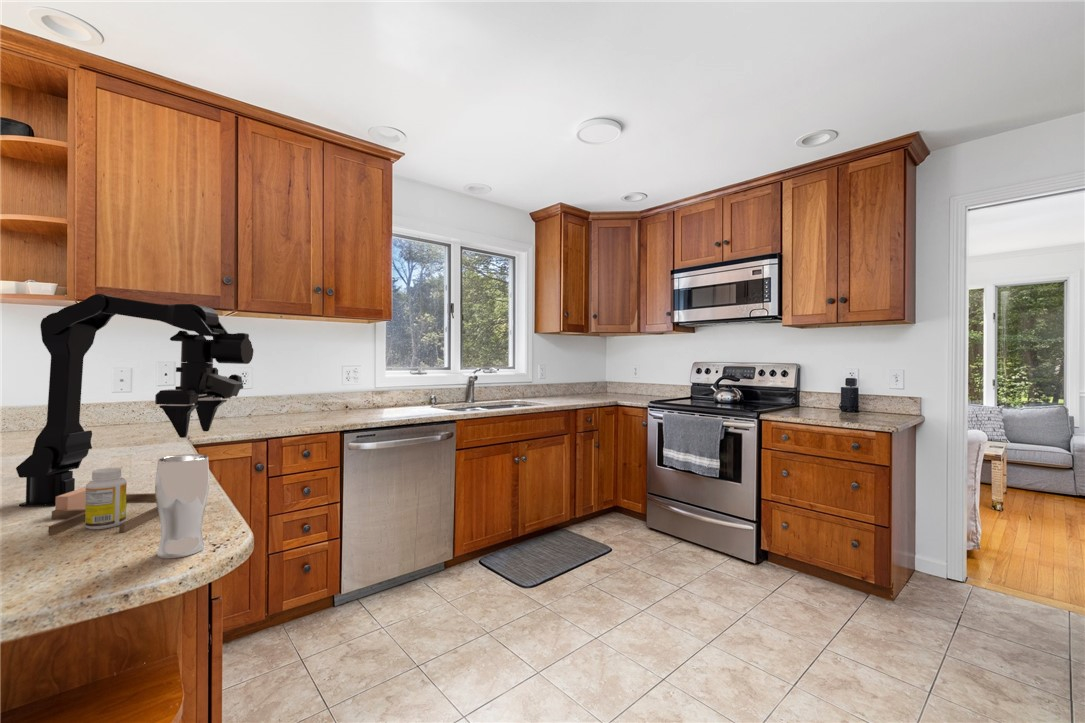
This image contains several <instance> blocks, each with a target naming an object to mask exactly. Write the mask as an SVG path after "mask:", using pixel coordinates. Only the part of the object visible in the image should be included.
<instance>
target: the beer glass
mask: <svg viewBox="0 0 1085 723" xmlns="http://www.w3.org/2000/svg"><path fill="white" fill-rule="evenodd" d="M154 483H155V485H154V493H155V497H156V501H155V503H156V507H157V510H158V519H159V525H160V539H159V544H158V548H157V552H156V554H157V555H156V556H157V557H158V558H160V559H166V560H167V559H170V560H171V559H179V558H185V557H189V556H192V555H195V554H197V553H200V552H201V551H202V550H204V549H205V543H204V542H205V541H204V538H203V530H202V529H203V528H202V527H203V526H202V525H203V519H204V515H205V514H204V513H205V511H206V510H205V509H206V505H207V501H208V495H209V490H210V466H209V455H207V454H199V453H197V454H195V453H193V454H191V453H190V454H179V455H178V454H177V455H171V456H165V457H161V458H158V459H157V467H156V474H155V482H154Z"/></svg>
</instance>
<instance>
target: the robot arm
mask: <svg viewBox="0 0 1085 723" xmlns="http://www.w3.org/2000/svg"><path fill="white" fill-rule="evenodd" d="M115 315H118V316H125V317H132V318H139V319H145V320H150V321H151V320H152V321H158V322H162V323H165V324H168V325H170V326H172V327H175V328H177V329H181V330H179V331H177V333H175V334H174V335H172V336H171V337H170V338H169V340H170V341H171V342H181V351H180V366H179V367H178V366H177V367H175V372H176V373H180V374H179V375H180V378H179V380H180V382H179V386H178V385H177V386H175V389H163V390H162V389H161V390H159V391H158V392H157V393H156V394H155V395H154V396H155V399H154V400H155V405H159V409H161V410H163V412H164V414H165V415H166V417H167V418H168V419H169V421H170V423H171V425H172V426H173V428H174V429H175V432H176V433H177V435H178V436H179V438H181V439H183V438H184V439H185V438H187V437H188V432H189V426H190V420H191V416H192V415H191V414H192V412H193V411H194V410H195V411H196V414H197V418H198V420H199V424H200V427H201V431H203V432H209V431H210V429H211V427H212V424H213V421H214V418H215V416H216V413H217V410H218V409H219V407H220V406H222V405H223V404H225V403H226V402H227V401H228V399H230V398H233V397H238V395H239V393H240V390H243V389H244V382H243V378H242V376H241V375H238V374H230V376H225V375H224V376H223V375H220V374H219V369H218V368H217V367H214V360H215V361H216V362H217V363H218V364H234V365H235V364H236V365H238V364H239V365H248V364H250V363H251V362H252V359H253V356H254V347H253V345H252V344H253V343H252V342H251V340H250V338H249V337H250V335H249V333H245V332H237V333H229V332H228V331H227V330H226V328H225V326H224V325H223V324H222V323H221V322H220V319H219V318H220V317H219V315H218V313H217V311H216V310H215V309H214V308H212V307H210V306H209V307H208V306H204V305H198V304H194V303H173V304H161V303H153V302H148V301H147V302H146V301H141V300H134V299H129V298H124V297H123V298H121V297H118V296H113V295H109V294H103V293H96V294H92V295H90V296H88V297H87V298H85V299H84V300H82V301H79V302H77V303H73V304H71V305H68V306H65V307H63V308H61V309H59V310H58V311H56V312H52V313H49V314H48V315H46V316H45V317H42V319H41V322H40V325H39V327H40V332H41V333H40V334H41V335H40V336H41V341H42V344H43V345H44V347H45V348H46V350H47V351H48V353H49V355H50V365H49V366H50V367H49V380H48V382H49V383H48V384H49V385H48V397H47V409H46V410H47V412H46V413H47V414H46V424H45V425H44V427H43V429H42V430H40V433H39V434H38V435H37V437H36V438H35V441H34V446H33V447H32V448H33V449H32V453H31V454H30V455H29V456H28V457H27V458H26V459H24V460H23V461H22V462H21V463H20V464H18V465H17V466H16V468H15V470H16V473H17V475H18V477H19V478H22V479H23V478H25V480H26V484H25V501H23V502H21V503H18V507H45V506H46V507H51V506H52V507H53V506H55V505H56V497H57V496H60V495H63V494H66V493H69V492H72V491H75V490H76V488H75V486H76V484H75V483H76V482H75V480H76V478H75V477H74V475H73V474H74V471H73V470H77V469H79V467H80V466H81V463H82V461H83V460H84V459H85V458H87V456H88V454H89V451H90V450H92V449H93V446H92V436H93V431H92V430H84V428H83V426H82V425H81V422H80V418H81V402H82V401H81V400H82V388H83V387H82V386H83V374H84V373H83V370H84V357H85V355H86V354H87V353H88V351H89V350H90V349H91V347H92V346H93V344H94V341H95V338H96V333H97V332H98V331H99V330H101V329H102V328H104V327H106V326H107V325H108V323H109V322H110V321H111V319H112V318H113V317H114V316H115ZM188 332H195V333H197V334H195V333H194V334H192V333H191V334H190V333H188ZM206 337H212V339H207V338H206Z"/></svg>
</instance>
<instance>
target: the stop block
mask: <svg viewBox="0 0 1085 723" xmlns="http://www.w3.org/2000/svg"><path fill="white" fill-rule="evenodd" d="M54 506H55V508H54V510H71V509H86V486H84V487H81V488H78V489H74V491H72V492H69V493H66V494H63V495H60V496H57V497H56V505H54Z"/></svg>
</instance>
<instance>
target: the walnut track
mask: <svg viewBox="0 0 1085 723" xmlns="http://www.w3.org/2000/svg"><path fill="white" fill-rule="evenodd" d="M130 502H131V503H135V502H137V503H141V502H156V497H155V492H151V493H150V492H149V493H126V503H130ZM156 517H159V515H158V510H157V506H155V507H153V508H150V509H149V510H147V511H145V512H142V513H141V514H138V515H136V516H134V517H132V518H129V519H127V520H125V522H123V523H121V524H119V525H118V527H119V529H118V530H119V532H118V533H119V534H122V533H123V534H125V533H127V532H129V531H131V530H132V529H134V528H136V527H138V526H140V525H143V524H145V523H146V522H148V521H150V520H152V519H155V518H156ZM51 520H61V521H59V522H56V523H54V524H51V525H49V526H48V530H47V532H48V534H47V535H48V536H55V535H57V534H59V532H60V533H62V532H64V531H66V530H68V529H71V528H73V527H76V526H79V525H81V524H82V523H85V509H71V510H55V509H54V510H51Z"/></svg>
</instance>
